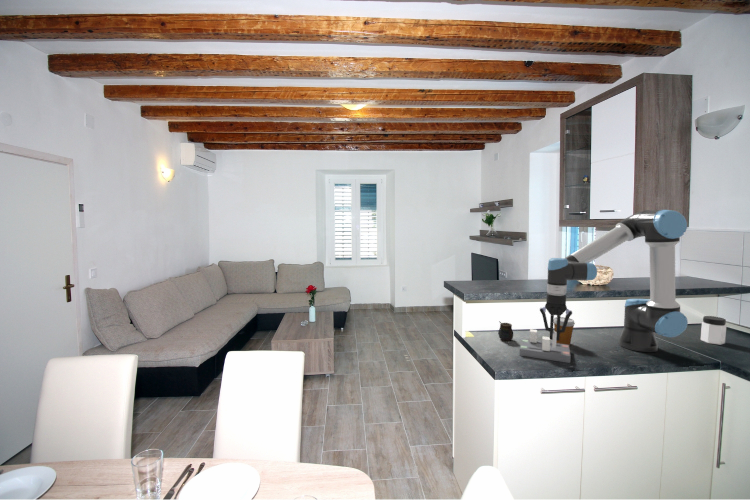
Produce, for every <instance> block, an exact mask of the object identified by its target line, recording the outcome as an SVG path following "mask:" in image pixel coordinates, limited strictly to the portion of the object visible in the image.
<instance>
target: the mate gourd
mask: <svg viewBox="0 0 750 500" xmlns="http://www.w3.org/2000/svg"><path fill="white" fill-rule="evenodd" d="M498 322H499V330H498V331H497V332H498V338H499V339H500V340H501V341H505V342H510V341H512V339H514V331H513V327H512V326H513V325H512V324H511V323H509V322H501V321H500V320H499V321H498Z"/></svg>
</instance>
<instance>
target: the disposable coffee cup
mask: <svg viewBox="0 0 750 500" xmlns="http://www.w3.org/2000/svg"><path fill="white" fill-rule="evenodd" d="M564 319H565V316H560V329H561V328H562V325H563V322H564ZM575 325H576V322H575V320H574V319H573V318H570V317H569V320H568V323H567V326H566V329H565V331H564V332H562V333H560V336H559V340H556V343H559V344H566V345H569V346H570V345H571V341H572V337H573V332H574V326H575ZM553 330H554V332H556V330H557V316H556V317H554V322H553Z"/></svg>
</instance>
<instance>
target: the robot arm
mask: <svg viewBox="0 0 750 500" xmlns="http://www.w3.org/2000/svg"><path fill="white" fill-rule="evenodd" d="M687 229H688V221H687V219H686V217H685V216H684V215H683V214H682V213H681V212H680V211H677V210H673V209H672V210H671V209H657V210H655V209H654V210H652V209H651V210H642V211H638V212H636V213H633V214H632V215H630V216H628V217H626V218H624V219H622V220H621V221H619V222H618V223H616V224H615V227H614V228H612V229H611V230H609V231H608V232H606V233H604V234H602V235H601V236H599V237H597V238H595V239H593V240H592V241H590V242H589V243H588V244H586V245H584V246H582V247H581V248H579V249H578V250H576V251H574V252H572V253H571V254H569V255H567V256H566V257H564V258H562V257H550V258H549V259H548V263H547V281H546V282H547V284H546V285H547V286H546V292H547V293H546V301H545V302H546V303H545V305H544V306H542V307H540V308H539V311H540V313H541V316H542V319H543V323H544V324H543V325H544V329H545V331H548V332H549V337H550V341H551V343H552V348H556V340H559V336H560V333H562V332H564V331H565V329H566V326H567V323H568V320H569V318H570V317H571V316H572V315H573V311H572V310H570V309H568V306H567V295H566V294H567V285H568V284H567V283H568V281H585V282H587V281H594V280H595V279H596V278H597V276H598V269H597V266H596V264H595V263H593V261H594V260H596V259H598V258H600V257H601V256H603V255H604V254H606V253H608V252H611V250H613V249H615V248H617V247H619V246H620V245H622V244H624V243H625V242H631V241H633V240H635V239H637V238H642V237H644V243H645V244H647V245H648V247H649V289H650V290H649V296H650V297H649V299H648V298H647V299H646V298H628V299H625V303H624V318H623V320H624V321H623V329H622V331H621V334H620V336H619V337H618V345H619V346H620V347H622V348H624V349H627V350H631V351H635V352H641V353H642V352H644V353H654V352H658V348H659V347H658V345H659V344H658V341H657V339H656V335H655V334H657V335H660V336H663V337H666V338H675V337H678V336H680V335H681V334H682V333H684V332H685V331H686V329H687V327H688V323H689V322H688V318H687V316H686V315H685V314H684V313H682V312H681V304H679V302H677V300H676V245H677V244H678V243H680V239H681V237H682V236H683V235H684V233H686V231H687ZM546 310H547V312H548V313H549V314H550V322H549V324H548V319H547V315H546ZM564 313H565V316H564V317H565V319H564V322H563V325H562V328H561V329H560V317H562V315H564ZM555 316H556V317H557V330H556V332H555V330H554V318H555Z"/></svg>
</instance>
